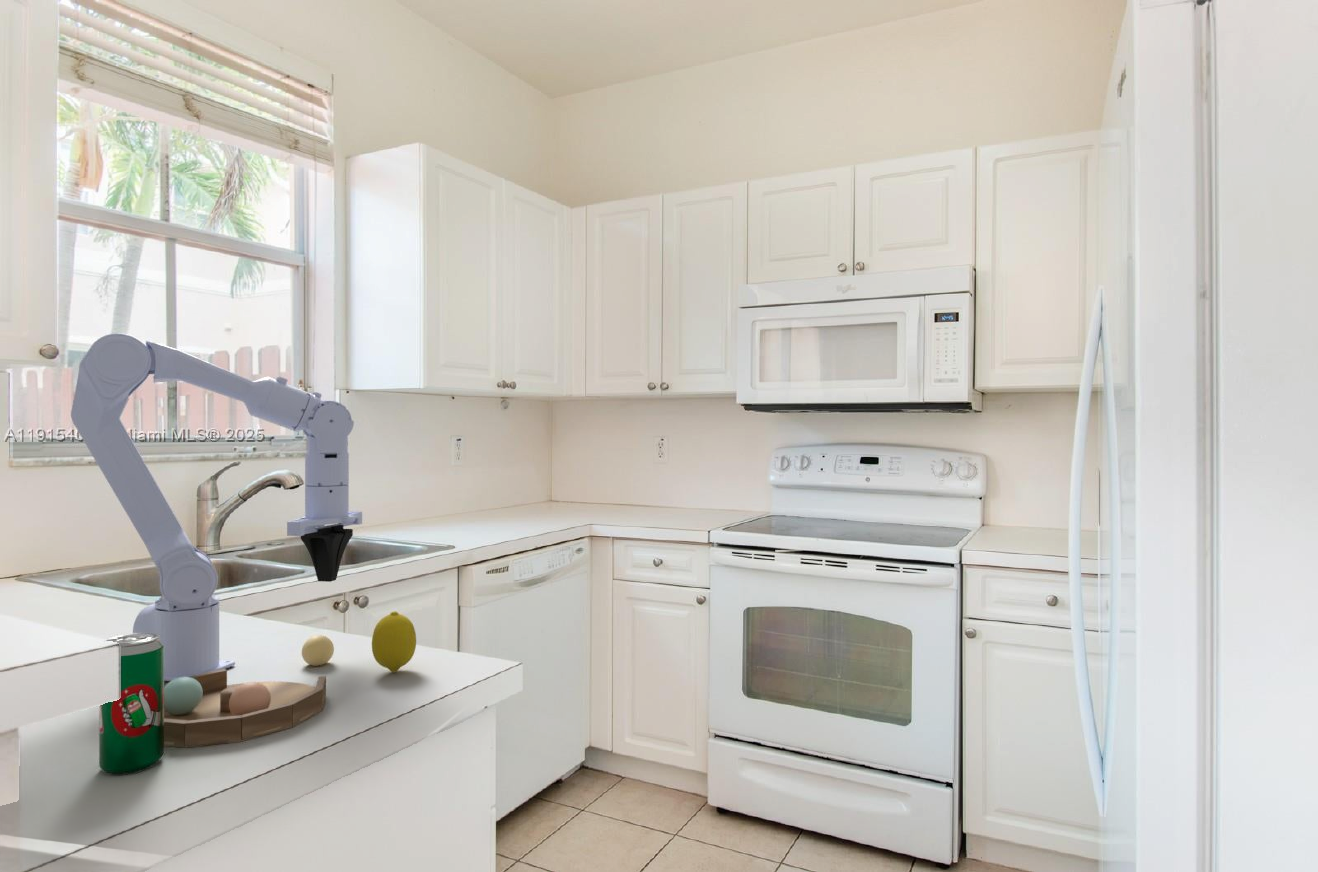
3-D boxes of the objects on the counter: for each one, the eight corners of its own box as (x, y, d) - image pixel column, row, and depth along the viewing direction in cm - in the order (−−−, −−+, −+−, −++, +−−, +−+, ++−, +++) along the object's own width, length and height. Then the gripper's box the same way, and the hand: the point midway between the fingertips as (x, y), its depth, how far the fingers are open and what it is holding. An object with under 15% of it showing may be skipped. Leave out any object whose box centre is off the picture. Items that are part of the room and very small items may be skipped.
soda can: (120, 755, 75) (120, 632, 75) (174, 753, 76) (174, 630, 76) (86, 778, 70) (86, 646, 70) (145, 776, 71) (145, 644, 71)
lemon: (402, 680, 98) (402, 617, 98) (363, 677, 99) (363, 615, 99) (424, 667, 104) (424, 607, 104) (386, 664, 105) (386, 605, 105)
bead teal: (151, 718, 84) (151, 682, 84) (180, 706, 88) (180, 671, 88) (182, 721, 83) (182, 684, 83) (211, 708, 87) (211, 673, 87)
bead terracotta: (220, 724, 82) (220, 687, 82) (247, 711, 86) (247, 675, 86) (253, 727, 81) (253, 689, 81) (278, 714, 85) (279, 678, 85)
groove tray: (81, 738, 79) (81, 714, 79) (222, 680, 98) (222, 661, 98) (245, 753, 76) (245, 729, 76) (358, 690, 94) (358, 670, 94)
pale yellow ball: (302, 650, 101) (294, 638, 104) (310, 676, 103) (302, 663, 106) (333, 637, 104) (324, 625, 107) (341, 662, 105) (332, 650, 108)
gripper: (320, 489, 102) (320, 591, 102) (380, 482, 117) (380, 572, 117) (273, 488, 104) (273, 589, 104) (338, 481, 118) (338, 570, 118)
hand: (326, 580), depth 110 cm, fingers closed
